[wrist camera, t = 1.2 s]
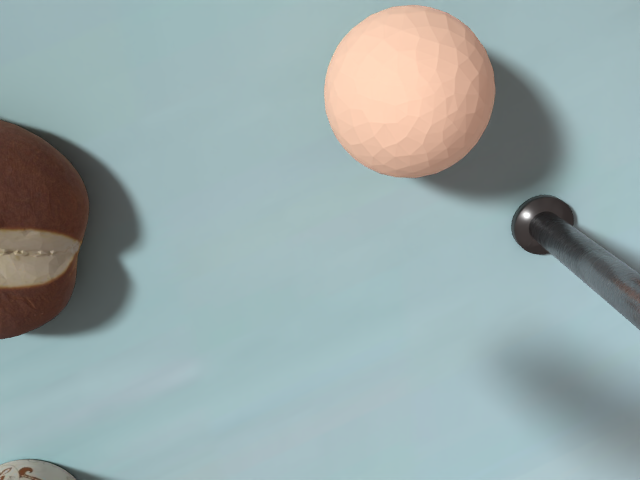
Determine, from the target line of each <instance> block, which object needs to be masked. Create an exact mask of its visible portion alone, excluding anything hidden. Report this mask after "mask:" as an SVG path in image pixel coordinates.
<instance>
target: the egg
mask: <svg viewBox="0 0 640 480" xmlns="http://www.w3.org/2000/svg"><path fill="white" fill-rule="evenodd" d="M324 97H325V108H326V114H327V117H328V120H329V123H330V125H331V128H332V130H333V132H334V134H335V136H336V138H337V139H338V141H339V142H340V143H341V145H342V146H343V147H344V149H345V150H346V151H347V152H348V153H349V154H350V155H351V156H352V157H353V158H354V159H355V160H356V161H358V162H360V163H361V164H363V165H364V166H366V167H368V168H370V169H372V170H374V171H376V172H378V173H380V174H385V175H389V176H394V177H406V178H418V177H422V176H427V175H431V174H436V173H438V172H440V171H442V170H444V169H447V168H449V167H451V166H452V165H453V164H455V163H456V162H458V161H459V160H461V159H462V158H464V157H465V155H466V154H467V153H468V152H469V151H470V150H471V149H472V148H473V147H474V146H475V145H476V144H477V142H478V141H479V139H480V137H481V136H482V134H483V132H484V130H485V129H486V127H487V125H488V123H489V120H490V116H491V113H492V109H493V105H494V99H495V81H494V72H493V68H492V65H491V63H490V60H489V57H488V55H487V52H486V50H485V48H484V47H483V45H482V44H481V43H480V41H479V40H478V38H477V37H476V36H475V34H474V33H473V32H472V31H471V30H470V28H469V27H468V26H466V25H465V24H464V23H462V22H461V21H460V20H459V19H457V18H455V17H453V16H452V15H450V14H448V13H446V12H443V11H440V10H437V9H434V8H431V7H425V6H419V5H408V6H397V7H391V8H388V9H385V10H383V11H380V12H378V13H375V14H372V15H370V16H369V17H367V18H366V19H365V20H363V21H362V22H360V23H359V24H358V25H357V26H355V27H354V28H353V29H352V30H351V31H350V32H349V33H348V34H347V35H346V36H345V37H344V38H343V39H342V41H341V42H340V43H339V45H338V46H337V48H336V50H335V52H334V54H333V56H332V59H331V61H330V64H329V66H328V70H327V74H326V79H325V87H324Z"/></svg>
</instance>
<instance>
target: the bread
mask: <svg viewBox="0 0 640 480" xmlns="http://www.w3.org/2000/svg"><path fill="white" fill-rule="evenodd" d="M88 216H89V199H88V195H87V191H86V187H85V185H84V183H83V181H82V179H81V177H80V175H79V174H78V172H77V171H76V169H75V168H74V167H73V165H72V164H71V163H70V162H69V161H68V160H67V159H66V157H65V156H64V155H62V154H61V153H60V152H59V151H58V150H56V149H55V148H54V147H53V146H52V145H50V144H49V143H48V142H46V141H45V140H44V139H42V138H41V137H39V136H37V135H35V134H33V133H31V132H29V131H28V130H26V129H24V128H22V127H20V126H18V125H15V124H12V123H8V122H5V121H2V120H0V339H5V338H11V337H15V336H19V335H21V334H24V333H26V332H29V331H31V330H34V329H36V328H38V327H40V326H42V325H44V324H45V323H47V322H49V321H50V320H52V319H53V318H54V317H56V316H57V315H58V314H59V313H60V312H61V311H62V310H63V309H64V308H65V306H66V305H67V303H68V301H69V299H70V297H71V295H72V292H73V289H74V286H75V280H76V272H77V260H78V253H79V250H80V246H81V244H82V241H83V237H84V234H85V230H86V226H87V222H88Z"/></svg>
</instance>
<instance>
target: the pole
mask: <svg viewBox="0 0 640 480" xmlns="http://www.w3.org/2000/svg"><path fill="white" fill-rule="evenodd" d="M573 225H574V218H573V214H572V211H571V209H570V208H569V206H568V205H567V204H566V203H564V202H563V201H561V200H560V199H558V198H556V197H554V196H550V195H539V196H535V197H532V198H530V199H528V200H527V201H525V202H524V203H523V204H522V205H521V206H520V207H519V208H518V209H517V211H516V212H515V214H514V216H513V219H512V225H511V229H512V235H513V237H514V239H515V241H516V242H517V243H518V244H519V245H520V246H521V247H522V248H523V249H524V250H526V251H528V252H530V253H533V254H546V253H551V254H552V255H553V256H554V257H555V258H557V259H558V260H559V261H560V262H561V263H562V264H564V265H565V266H566V267H567V268H568V269H569V270H570V271H572V272H573V273H574V274H575V275H576V276H577V277H579V278H580V279H581V280H582V281H583V282H584V283H586V284H587V285H588V286H589V287H590V288H591V289H593V290H594V291H595V292H596V293H597V294H598V295H600V296H601V297H602V298H603V299H604V300H605V301H607V302H608V303H609V304H610V305H611V306H612V307H614V308H615V309H616V310H617V311H618V312H619V313H621V314H622V315H623V316H624V317H625V318H626V319H628V320H629V321H630V322H631V323H632V324H633V325H635V326H636V327H637V328H638V329H639V330H640V274H639V273H638V272H637V271H635V270H634V269H632V268H631V267H630V266H628V265H627V264H625V263H624V262H623V261H621V260H620V259H618V258H617V257H615V256H614V255H613V254H611V253H610V252H608V251H607V250H606V249H604V248H603V247H601V246H600V245H598V244H597V243H596V242H594V241H593V240H591V239H590V238H589V237H587V236H586V235H584V234H583V233H581V232H580V231H579V230H577V229H576V228H574V227H573Z"/></svg>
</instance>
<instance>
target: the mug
mask: <svg viewBox="0 0 640 480" xmlns="http://www.w3.org/2000/svg"><path fill="white" fill-rule="evenodd" d="M0 480H76V479H75V478H74V477H73V476H72V475H71V474H70V473H68V472H67V471H66V470H64V469H62V468H60V467H58V466H56V465H54V464H51V463H48V462H44V461H40V460H29V459H26V460H16V461H11V462H7V463H4V464H2V465H0Z"/></svg>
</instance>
